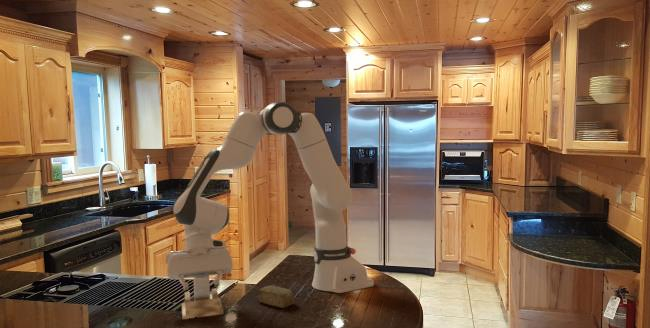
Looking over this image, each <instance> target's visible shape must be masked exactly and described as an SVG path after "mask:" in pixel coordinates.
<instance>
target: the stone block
mask: <svg viewBox="0 0 650 328" xmlns="http://www.w3.org/2000/svg"><path fill="white" fill-rule="evenodd" d="M258 302H260V303H262V304H264V305H269V306H272V307H277V308H280V309H281V308H282V309H283V308H284V309H285V308H287V307H290V306H292V305H293V304H294V303H295V293H294V291H293V290H292V289H288V288H285V287H279V286H276V285H266V286H263V287H261V288H259V291H258Z"/></svg>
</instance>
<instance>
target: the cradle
mask: <svg viewBox="0 0 650 328" xmlns="http://www.w3.org/2000/svg"><path fill="white" fill-rule="evenodd" d="M218 315H219V316H220V315H224V308H223V305H222V302H221V298H220V297H219V293H218V290H217V288H211V298H210V299H206V300H198V301H194V300H193V301H192V300H191V293H190V291H185V292H184V302H182V303H181V316H182V320H189V318H190V319H194V318H195V317H197V318H204V317H211V316H218ZM195 319H196V318H195Z"/></svg>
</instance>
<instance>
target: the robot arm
mask: <svg viewBox="0 0 650 328" xmlns="http://www.w3.org/2000/svg"><path fill="white" fill-rule="evenodd" d="M284 134H287V135H289V136H290V137H291V139H292V140H293V142H294V145H295V148H296V150H297V153H298V155H299V158H300V160H301V164H302V166H303V169H304V171H305V172H306V173H307V175H308V178H309V179H310V181H311V182H312V184H311V185H310V187H309V189H310V190H309V194H310V197H311V205H312V212H313V217H314V224H315V225H314V226H315V228H314V229H315V246H314V253H313V255H314V257H313V258H314V263H315V267H314V273H313V279H312V283H311V287H312V288H314V289H315V290H319V291H323V292H332V293H337V294H343V293H348V292H351V291H356V290H361V289H366V288H371V287H374V286H375V284H374V283H375V282H374V280H373V279H372V277H370V276H368V273H367V269H366V267H365V265H364V264H362V263H361V262H360V261H359V260H357V259H356V258H355V257H354V256H352V255H356V253H357V251H356V250H357V249H355V248H353V247H350V246H348V245H347V225H346V222H345V217H344V214H343V211H344V210H346V209H348V208H349V206H351V204H352V202H353V198H354V196H353V191H352V189H351V187H350V186H349V184H348V183H347V181H346V179H345V177H344V175H343V173H342V171H341V169H340V167H339V166H338V164H337V162H336V160H335V159H334V156H333V153H332V150H331V148H330V146H329V142H328V139H327V136H326V134H325V132H324V130H323V128H322V126H321V124H320V122H319V120H318V119H317V116H315V115H314V114H313V113H311V112H301V113H300V111H298V109H296V108H295V107H293V106H292V105H291V104H290V103H287V102H286V101H276V102H275V101H274V102H272V103H270V104H268V105H267V106H266V107H263V109H262V110H261V111H259V112H258V113H255V112H253V111H241V112H240V113H238V114H237V116H236V118H235V119H234V121H233V123H232V124H231V126H230V128H229V130H228V132H227V135H226V137H224V138H225V139H224V140H223V142H222V144H220V145H219V146H218V148H216V149H212V150H210V151H209V152H208V153H207V154H206V156H204V158H203V160H202V161H201V163H200V165H199V167H198V168H197V170H196V171H195V173H194V174H193V176H192V177H191V179H190V181H189V183H188V184H187V186H186V187H185V189H184V190H183V191H182V192H181V194H179V196H178V197H177V199H176V200H175V203H174V204H173V207H172V208H173V209H172V212H173V213H172V214H173V216H174V218H175V220H176V221H177V222H178V223H179V224H181V225H183V229H184V230H183V232H184V235H185V240H184V247H185V248H184V249H183V250H178V251H175V250H174V251H170V252H168V253H167V254H166V256H165V262H166V264H167V273H166V274H167V275H166V276H167V278H168V279H170V280H177V279H178V280H179V282H180V284H181V285H182V286H183V287H182V289H183V291H188V290H189V282H186V281H185V279H187V278H188V279H189V278H194V274H204V273H208V274H209V276H216V275H217V278H216V279H214V280H213V281H214V287H220V281H221V279H222V277H223V275H224V274H225V275H227V274H230V273H232V271H233V268H234V267H233V261H232V260H233V259H232V256H231V253H230V251H229V250H228V248H227V242H226V241H224V240H218V239H215V238H212V236H213V235H215V234H217V233H219V232H221V231H222V230H223V229H225V228H226V227H227V226H228V224H229V221H230V211H229V210H230V209H229V207H228V206H227V205H226V203H222V202H221V201H216V200H213V199H209V198H207V197H203V196H201V195H202V193H203V191H204V190H205V188H206V187H207V185H208V183H209V182H210V180H211V178H212V176H213V175H214V174H216V173H217V172H220V171H223V170H238V169H239V170H240V169H241V168H245V167H246V166H248V165H249V164H250V163H251V162H252V161H253V159H254V157H255V155H256V152H257V150H258V147H259V144H260V141H261V140H262V139H263V137H264V136H265V135H269V136H281V135H284Z"/></svg>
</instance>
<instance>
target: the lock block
mask: <svg viewBox="0 0 650 328" xmlns="http://www.w3.org/2000/svg"><path fill="white" fill-rule="evenodd" d="M210 290H211V288H210V275H209V274H208V273H204V274H194V277H193V299H194V300H193V301H198V300H206V299H211V291H210Z"/></svg>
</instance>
